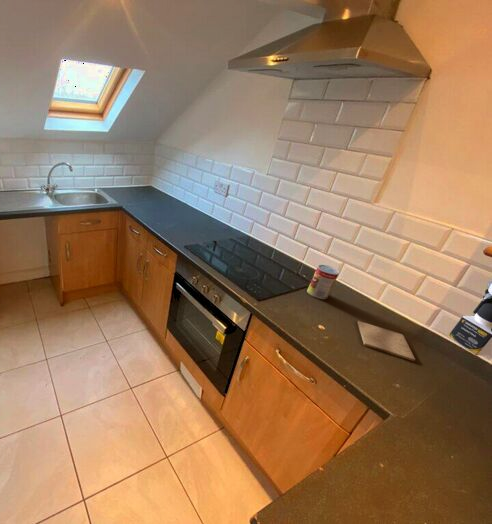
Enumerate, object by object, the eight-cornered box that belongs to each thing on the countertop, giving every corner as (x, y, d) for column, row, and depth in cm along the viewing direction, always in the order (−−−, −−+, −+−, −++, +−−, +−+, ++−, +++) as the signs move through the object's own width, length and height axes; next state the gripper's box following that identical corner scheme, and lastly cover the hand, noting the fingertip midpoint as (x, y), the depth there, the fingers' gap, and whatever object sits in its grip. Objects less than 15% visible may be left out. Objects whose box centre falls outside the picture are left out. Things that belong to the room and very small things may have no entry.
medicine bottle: (446, 336, 81) (474, 299, 75) (467, 336, 82) (496, 300, 76) (475, 356, 74) (508, 317, 69) (498, 355, 76) (532, 318, 70)
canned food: (323, 290, 130) (334, 266, 125) (330, 300, 124) (342, 275, 118) (304, 287, 131) (315, 263, 126) (310, 297, 124) (321, 272, 119)
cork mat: (401, 336, 107) (402, 334, 106) (414, 361, 95) (415, 359, 95) (357, 322, 112) (358, 320, 111) (364, 344, 100) (365, 343, 100)
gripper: (597, 284, 58) (532, 351, 66) (536, 252, 73) (489, 311, 81) (545, 272, 61) (489, 339, 69) (496, 244, 75) (454, 302, 83)
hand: (489, 323), depth 75 cm, fingers closed on medicine bottle, 7 cm apart
